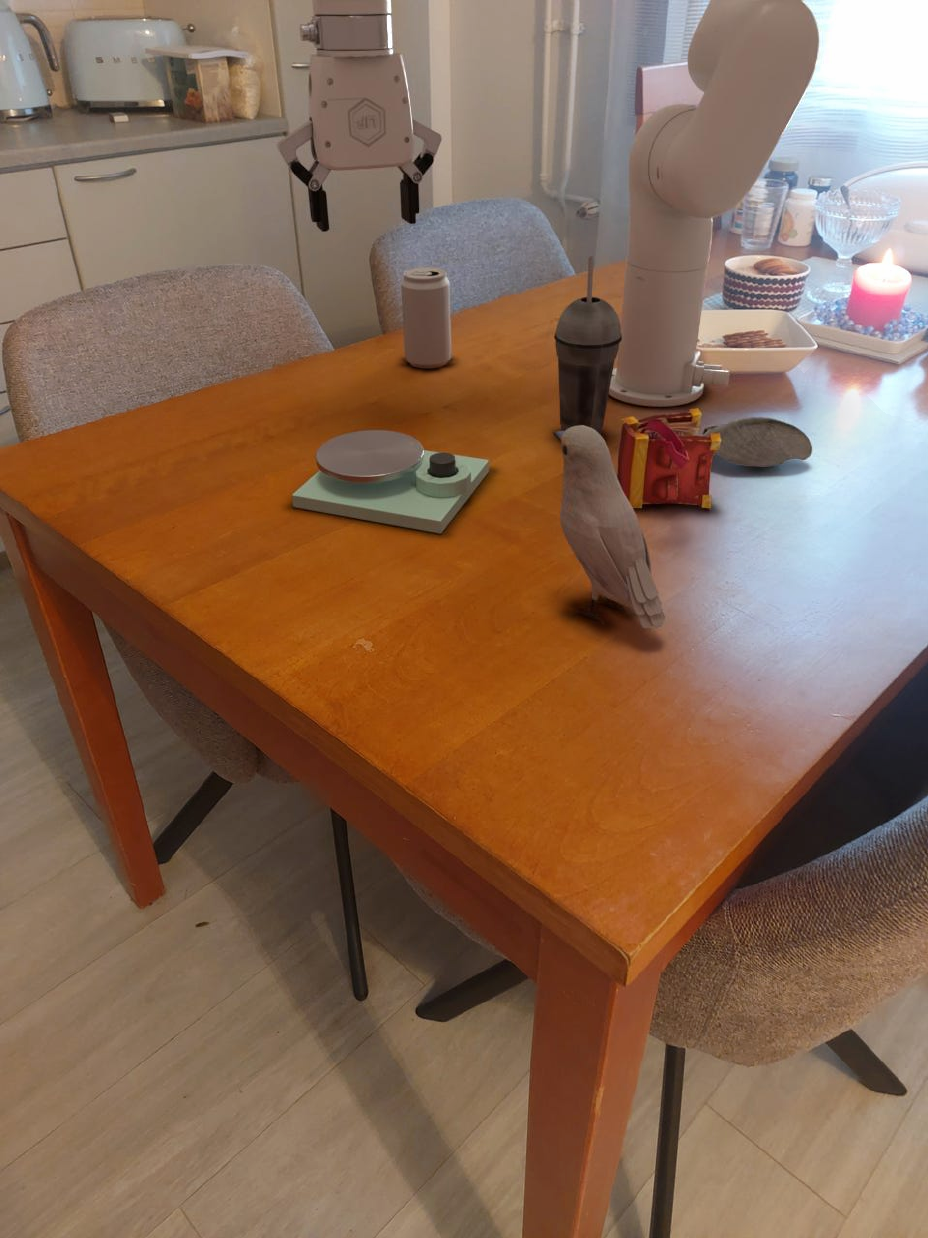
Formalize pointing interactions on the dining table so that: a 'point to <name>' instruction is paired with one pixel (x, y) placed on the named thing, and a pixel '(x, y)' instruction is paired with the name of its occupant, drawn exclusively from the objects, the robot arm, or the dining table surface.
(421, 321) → the beverage can
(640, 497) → the book monster
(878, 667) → the dining table surface
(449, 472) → the button
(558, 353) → the beverage cup
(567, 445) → the bird
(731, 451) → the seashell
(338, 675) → the dining table surface
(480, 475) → the scale
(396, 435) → the scale pan
